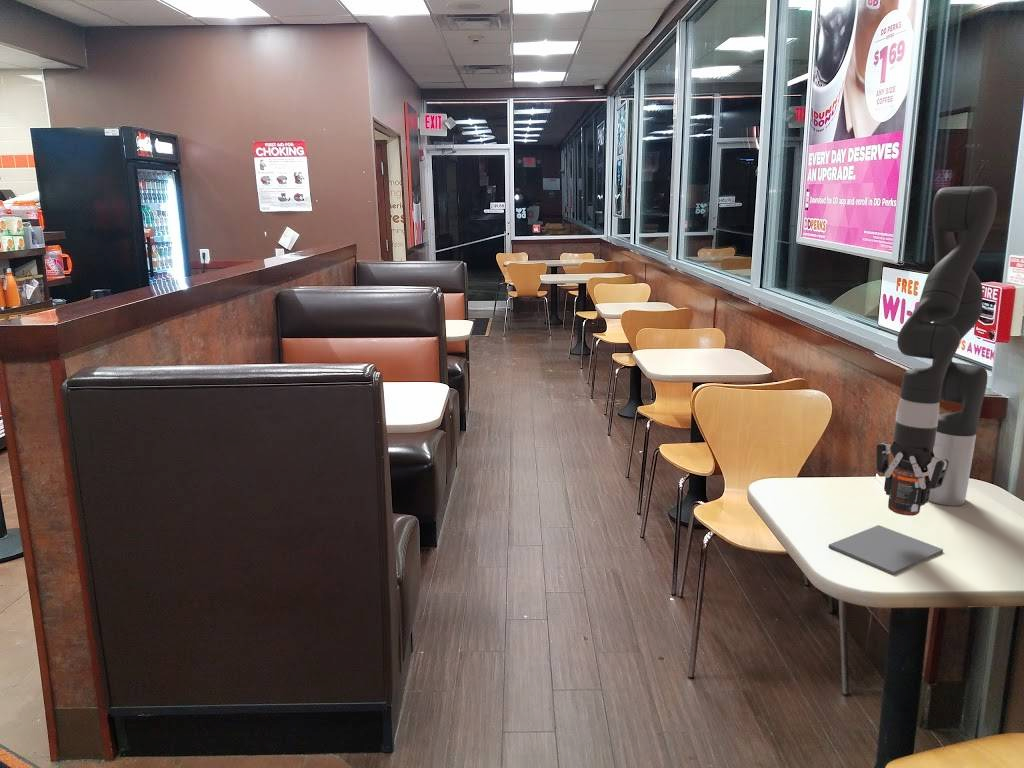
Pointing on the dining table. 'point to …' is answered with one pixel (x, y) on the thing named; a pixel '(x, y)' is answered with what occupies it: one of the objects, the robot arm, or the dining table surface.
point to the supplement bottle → (904, 490)
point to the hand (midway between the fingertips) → (905, 499)
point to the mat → (886, 549)
